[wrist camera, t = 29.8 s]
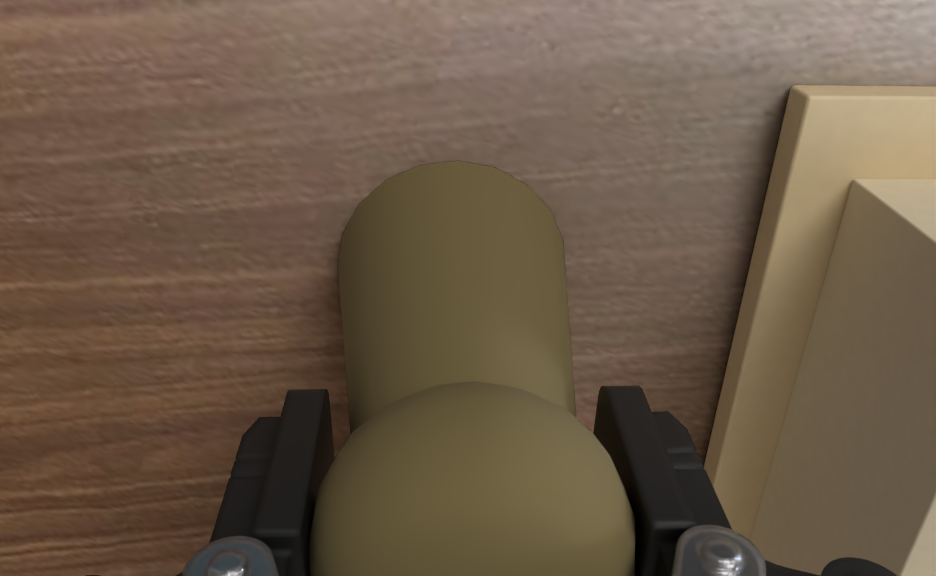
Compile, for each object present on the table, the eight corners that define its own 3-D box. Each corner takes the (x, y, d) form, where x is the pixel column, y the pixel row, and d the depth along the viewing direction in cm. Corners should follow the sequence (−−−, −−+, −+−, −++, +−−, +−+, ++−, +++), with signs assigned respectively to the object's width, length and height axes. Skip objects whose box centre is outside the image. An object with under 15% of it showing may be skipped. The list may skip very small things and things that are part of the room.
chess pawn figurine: (433, 111, 18) (446, 398, 9) (612, 251, 20) (779, 604, 11) (292, 286, 20) (180, 668, 11) (468, 395, 23) (501, 796, 13)
